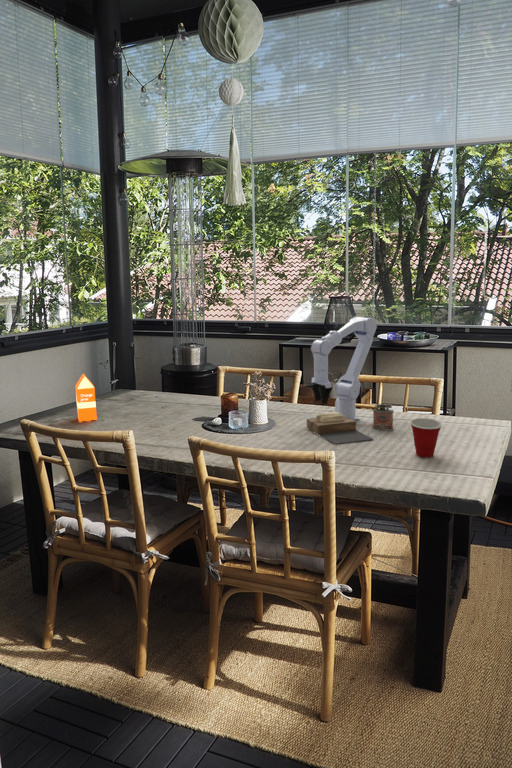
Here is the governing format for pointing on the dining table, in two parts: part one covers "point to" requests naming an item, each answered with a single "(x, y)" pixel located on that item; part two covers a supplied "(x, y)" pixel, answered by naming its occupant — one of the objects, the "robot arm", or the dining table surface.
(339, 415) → the birch tile
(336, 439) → the rubber mat
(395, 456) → the dining table surface
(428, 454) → the plastic cup
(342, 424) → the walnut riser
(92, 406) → the orange juice
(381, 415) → the lighter
